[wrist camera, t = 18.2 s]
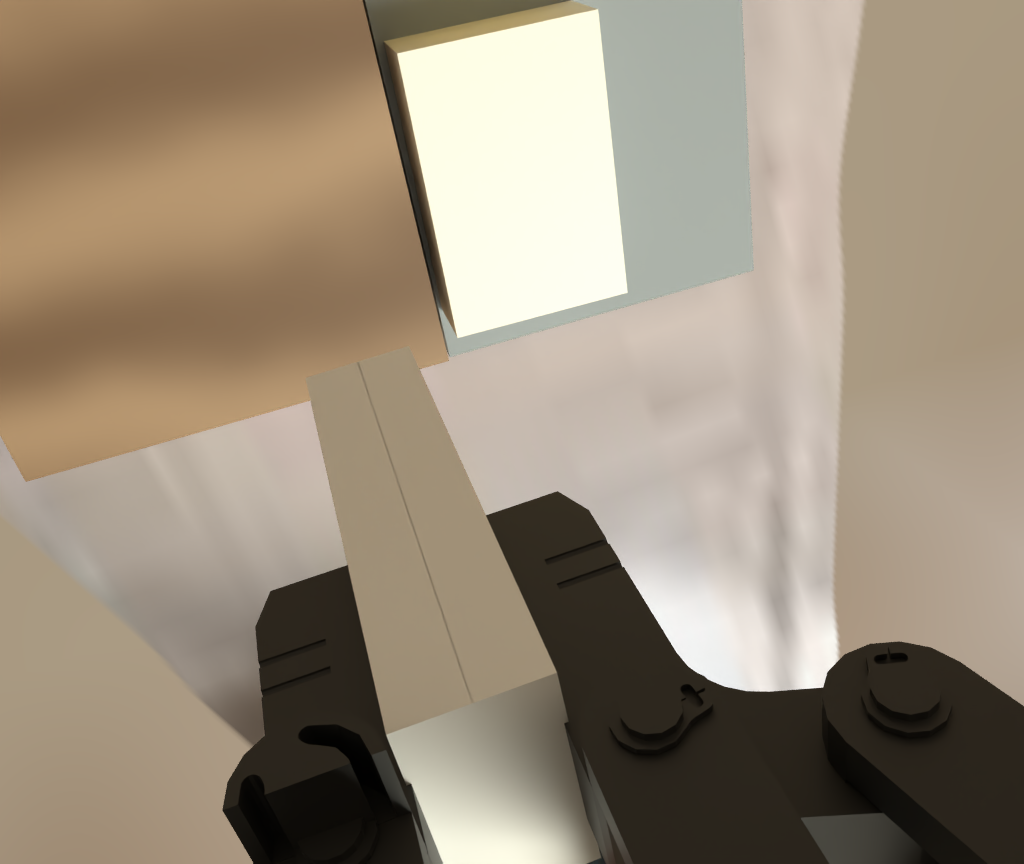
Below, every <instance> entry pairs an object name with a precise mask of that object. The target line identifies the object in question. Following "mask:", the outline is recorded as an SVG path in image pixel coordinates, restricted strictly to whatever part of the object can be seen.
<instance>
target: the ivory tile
mask: <svg viewBox="0 0 1024 864" xmlns="http://www.w3.org/2000/svg"><path fill="white" fill-rule="evenodd" d="M384 45H385V49H386V54H387V58H388V63H389V68H390V72H391V77H392V81H393V86H394V91H395V95H396V100H397V104H398V109H399V113H400V118H401V123H402V127H403V132H404V136H405V141H406V146H407V150H408V155H409V159H410V164H411V169H412V173H413V178H414V182H415V187H416V192H417V196H418V201H419V205H420V210H421V215H422V219H423V224H424V228H425V233H426V238H427V242H428V247H429V251H430V256H431V260H432V265H433V270H434V274H435V279H436V283H437V288H438V293H439V297H440V302H441V306H442V310H443V312H444V314H445V316H446V318H447V320H448V321H449V323H450V325H451V327H452V329H453V331H454V333H455V334H456V336H457V338H460V337H463V336H467V335H471V334H475V333H478V332H482V331H486V330H490V329H493V328H497V327H501V326H505V325H508V324H512V323H516V322H520V321H523V320H527V319H531V318H535V317H538V316H542V315H546V314H550V313H553V312H557V311H561V310H565V309H568V308H572V307H576V306H579V305H583V304H587V303H591V302H594V301H598V300H602V299H606V298H609V297H613V296H617V295H621V294H624V293H628V292H627V282H626V273H625V263H624V254H623V244H622V234H621V225H620V215H619V205H618V196H617V186H616V176H615V167H614V157H613V148H612V138H611V128H610V119H609V109H608V99H607V90H606V80H605V70H604V61H603V51H602V42H601V32H600V22H599V13H598V9H596V8H593V7H590V6H587V5H584V4H581V3H578V2H575V1H572V0H570V1H565V2H561V3H556V4H552V5H547V6H543V7H538V8H533V9H529V10H524V11H520V12H515V13H511V14H506V15H501V16H497V17H492V18H488V19H483V20H479V21H474V22H469V23H465V24H460V25H456V26H451V27H447V28H442V29H437V30H433V31H428V32H424V33H419V34H415V35H410V36H405V37H401V38H396V39H392V40H387V41H384Z"/></svg>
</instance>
